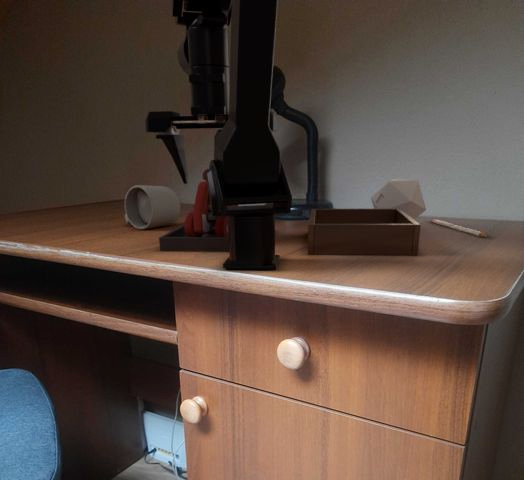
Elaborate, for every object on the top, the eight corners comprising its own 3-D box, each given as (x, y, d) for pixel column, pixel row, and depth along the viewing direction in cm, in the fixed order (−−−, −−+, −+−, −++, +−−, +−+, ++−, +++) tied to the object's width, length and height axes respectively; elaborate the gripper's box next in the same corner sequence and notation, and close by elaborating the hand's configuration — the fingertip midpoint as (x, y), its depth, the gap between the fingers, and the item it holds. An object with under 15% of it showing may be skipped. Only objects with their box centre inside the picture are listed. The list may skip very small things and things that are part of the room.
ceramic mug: (185, 225, 95) (182, 183, 92) (154, 230, 88) (150, 185, 85) (146, 222, 100) (142, 182, 97) (114, 227, 94) (109, 185, 91)
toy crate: (417, 255, 66) (420, 224, 64) (307, 254, 67) (308, 224, 66) (398, 233, 83) (400, 208, 81) (310, 232, 84) (311, 208, 83)
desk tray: (250, 251, 70) (250, 237, 69) (159, 250, 71) (158, 237, 70) (265, 230, 87) (265, 219, 87) (192, 230, 89) (191, 219, 88)
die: (376, 225, 96) (358, 184, 89) (419, 201, 94) (404, 157, 87) (391, 248, 89) (374, 206, 83) (438, 223, 87) (423, 177, 81)
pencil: (434, 222, 94) (434, 218, 94) (488, 238, 77) (489, 234, 77) (430, 222, 94) (431, 218, 94) (484, 238, 77) (484, 234, 77)
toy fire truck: (178, 242, 75) (172, 169, 71) (218, 230, 86) (215, 166, 82) (217, 245, 72) (213, 169, 69) (254, 232, 83) (253, 166, 79)
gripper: (279, 74, 77) (279, 180, 82) (163, 77, 79) (171, 180, 85) (272, 62, 66) (273, 184, 72) (139, 67, 68) (150, 185, 74)
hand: (215, 183), depth 76 cm, fingers open, 9 cm apart
